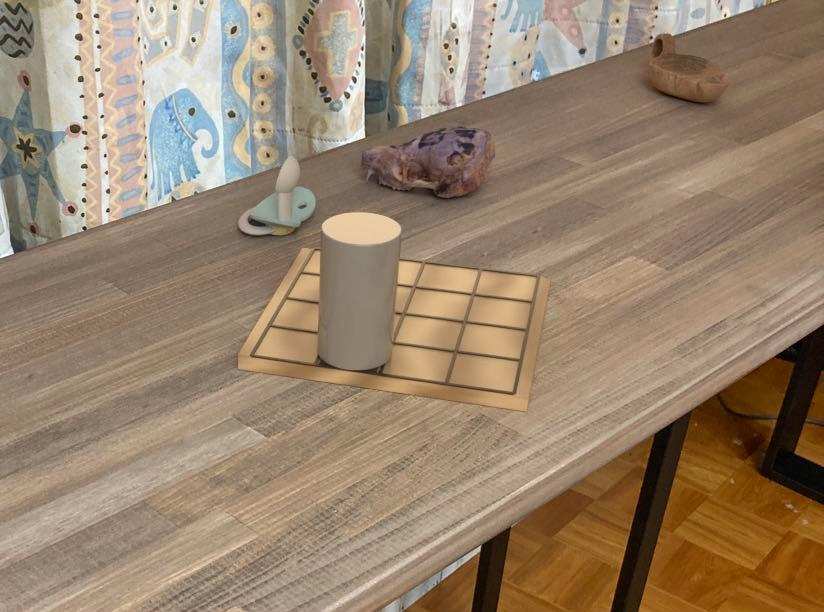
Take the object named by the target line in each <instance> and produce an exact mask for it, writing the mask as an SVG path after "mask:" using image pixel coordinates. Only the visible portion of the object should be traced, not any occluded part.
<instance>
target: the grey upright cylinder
mask: <svg viewBox="0 0 824 612" xmlns="http://www.w3.org/2000/svg"><path fill="white" fill-rule="evenodd" d="M402 235H403V229H402V226H401V224H400V223H398V222H397V221H396V220H394V219H393V218H391V217H388V216H386V215H382V214H378V213H373V212H361V211H359V212H356V211H355V212H345V213H339V214H336V215H333V216H331V217H329V218H327V219H325V221H324V222H322V223H321V226H320V246H319V248H320V276H319V307H318V339H317V352H318V355H319V357H320V358H321V359H322V360H323V361H324V362H326V363H327V364H329V365H331V366H334V367H337V368H340V369H345V370H368V369H373V368H377V367H379V366H382V365H383V364H385V363H386V362H388V361H389V359H390V358H391V356H392V351H393V338H394V326H395V313H396V301H397V288H398V275H399V263H400V258H401V249H402Z"/></svg>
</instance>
